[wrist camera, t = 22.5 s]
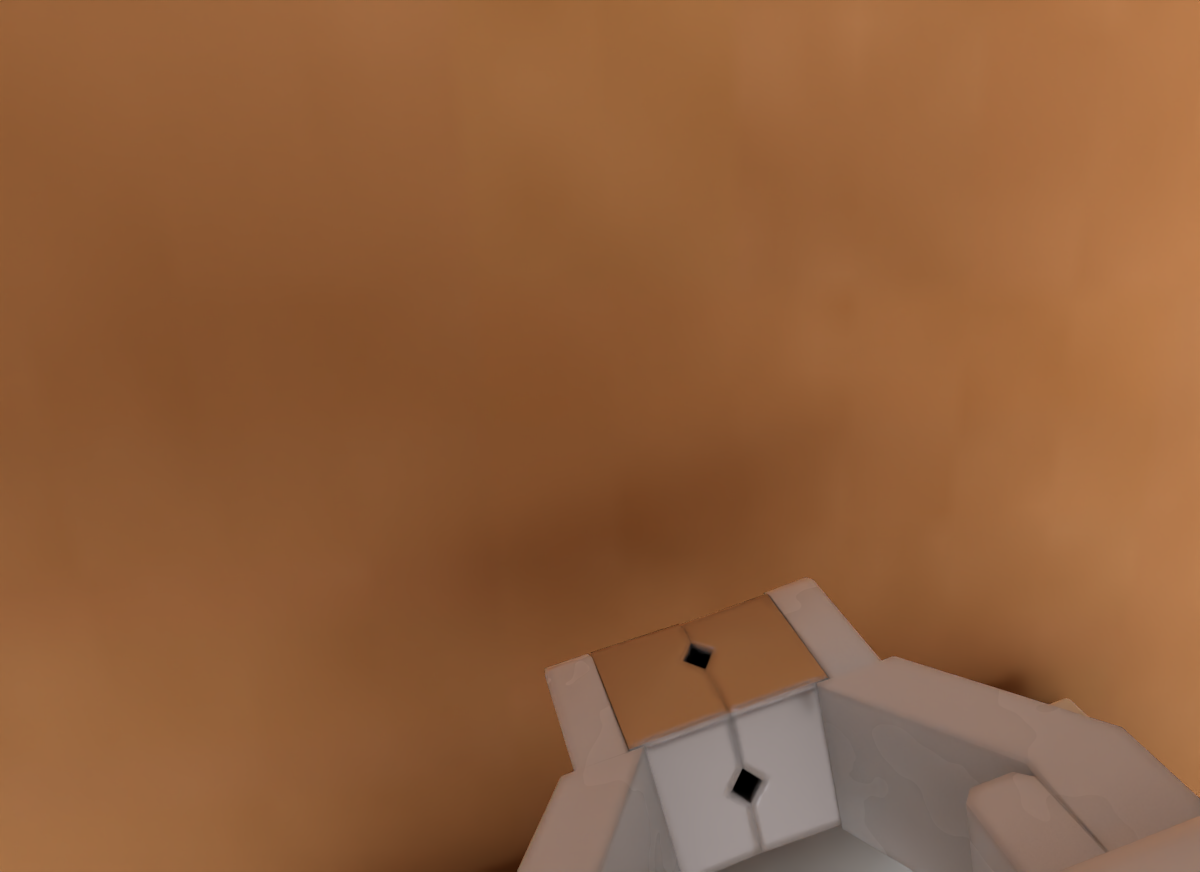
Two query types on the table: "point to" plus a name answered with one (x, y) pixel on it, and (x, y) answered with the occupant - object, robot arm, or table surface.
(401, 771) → the table surface
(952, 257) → the table surface
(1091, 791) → the robot arm
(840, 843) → the drawer
